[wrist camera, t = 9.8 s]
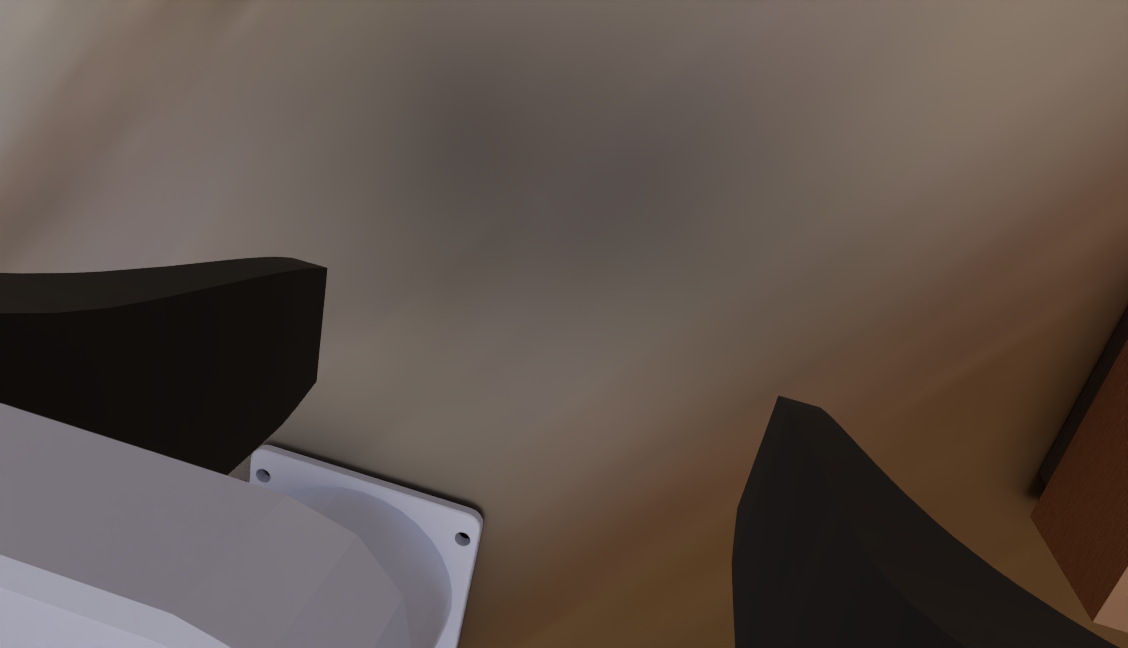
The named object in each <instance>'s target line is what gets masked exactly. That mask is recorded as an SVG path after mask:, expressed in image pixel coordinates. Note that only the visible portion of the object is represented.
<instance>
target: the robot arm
mask: <svg viewBox="0 0 1128 648" xmlns="http://www.w3.org/2000/svg"><path fill="white" fill-rule="evenodd" d="M326 277H327V268H326V267H322V266H319V265H315V264H312V263H308V262H305V261H301V260H298V259H294V258H287V257H259V258H245V259H234V260H224V261H214V262H205V263H195V264H186V265H176V266H166V267H154V268H141V269H129V270H116V271H104V272H85V273H24V274H21V273H0V648H457V647H458V642H459V637H460V633H461V628H462V623H463V618H464V614H465V609H466V604H467V599H468V595H469V590H470V585H471V580H472V575H473V571H474V566H475V561H476V556H477V552H478V547H479V542H480V537H481V533H482V528H483V519H482V517H481V515H480V514H479V513H478V512H477V511H476V510H474V509H472V508H469V507H466V506H463V505H460V504H456V503H453V502H450V501H447V500H444V499H441V498H437V497H434V496H431V495H428V494H425V493H421V492H418V491H415V490H412V489H409V488H405V487H402V486H399V485H396V484H393V483H389V482H386V481H383V480H380V479H377V478H373V477H370V476H367V475H364V474H361V473H358V472H354V471H351V470H348V469H345V468H342V467H338V466H335V465H332V464H329V463H326V462H322V461H319V460H316V459H313V458H310V457H306V456H303V455H300V454H297V453H294V452H291V451H287V450H284V449H281V448H278V447H275V446H271V445H262V446H260V445H261V444H262V443H263V442H264V441H265V440H266V439H267V438H268V437H269V436H271V435H272V434H273V433H274V432H275V431H276V430H277V429H278V428H279V427H280V426H281V425H282V424H283V423H284V422H285V420H286V419H287V418H288V417H289V416H290V414H291V413H292V412H293V411H294V410H295V408H296V407H297V406H298V405H299V404H300V402H301V401H302V400H303V398H304V397H305V396H306V394H307V393H308V392H309V390H310V389H311V388H312V386H313V385H314V384H315V383H316V380H317V370H318V360H319V349H320V339H321V329H322V318H323V308H324V298H325V287H326ZM259 446H260V447H259ZM258 447H259V448H258ZM257 448H258V449H257ZM255 449H257V450H256V451H255V452H254V453H252V452H253V451H254V450H255ZM251 453H252V456H251V466H250V482H249V483H248V482H245V481H242V480H239V479H236V478H233V477H230V476H227V475H228V474H229V473H230V472H231V471H232V470H233V469H235V468H236V467H237V466H238V465H239V464H240V463H241V462H242V461H243V460H245V459H246V458H247V457H248V456H249V455H250V454H251ZM263 469H264V470H266V471H268V473H269V474H270V476H268V475H266V474H265V473H264V471H263ZM459 532H463V533H465V534H467V535H468V536H469V537H470V539H466V538H463V537H462V536H461V535H460V534H459ZM732 585H733V609H734V630H735V648H1119V647H1117V646H1115V645H1113V644H1112V643H1110V642H1108V641H1106V640H1104V639H1103V638H1101V637H1099V636H1098V635H1096V634H1094V633H1093V632H1091V631H1089V630H1088V629H1086V628H1084V627H1083V626H1081V625H1079V624H1078V623H1076V622H1074V621H1072V620H1071V619H1069V618H1068V617H1066V616H1064V615H1063V614H1061V613H1060V612H1058V611H1057V610H1055V609H1054V608H1052V607H1051V606H1049V605H1047V604H1046V603H1044V602H1043V601H1041V600H1040V599H1038V598H1037V597H1035V596H1034V595H1032V594H1031V593H1029V592H1028V591H1026V590H1025V589H1023V588H1022V587H1020V586H1019V585H1017V584H1016V583H1014V582H1013V581H1011V580H1010V579H1009V578H1007V577H1006V576H1004V575H1003V574H1001V573H1000V572H999V571H997V570H996V569H994V568H993V567H992V566H990V565H989V564H988V563H987V562H985V561H984V560H983V559H981V558H980V557H979V556H978V555H976V554H975V553H974V552H972V551H971V550H970V549H969V548H967V547H966V546H965V545H963V544H962V543H961V542H960V541H958V540H957V539H956V538H954V537H953V536H952V535H951V534H950V533H948V532H947V531H946V530H945V529H944V528H943V527H941V526H940V525H939V524H938V523H937V522H936V521H934V520H933V519H932V518H931V517H930V516H929V515H928V514H927V513H926V512H925V511H924V510H922V509H921V508H920V507H919V506H918V505H917V504H916V503H915V502H914V501H913V500H912V499H910V498H909V497H908V496H907V495H906V494H905V493H904V492H903V491H902V490H901V489H900V488H899V487H898V486H897V485H896V484H895V483H894V482H893V481H892V480H891V479H890V478H889V477H888V476H887V475H886V474H885V473H884V472H883V471H882V470H881V469H880V468H879V467H878V466H877V465H876V464H875V463H874V462H873V460H872V459H871V458H870V457H869V456H868V455H867V454H866V453H865V452H864V451H863V450H862V449H861V448H860V447H859V446H858V445H857V443H856V442H855V441H854V440H853V439H852V438H851V437H850V436H849V435H848V434H847V433H846V432H845V431H844V430H843V428H842V427H841V426H840V425H839V424H838V423H837V422H836V421H835V420H834V419H833V418H832V417H831V416H830V415H829V414H828V413H826V412H825V411H824V410H823V409H821V408H820V407H817V406H813V405H810V404H806V403H803V402H799V401H795V400H792V399H788V398H785V397H781V396H778V399H777V401H776V404H775V407H774V409H773V412H772V415H771V418H770V420H769V423H768V426H767V429H766V431H765V434H764V437H763V440H762V442H761V445H760V448H759V450H758V453H757V456H756V459H755V461H754V464H753V467H752V470H751V472H750V475H749V478H748V481H747V483H746V486H745V489H744V492H743V494H742V497H741V500H740V502H739V505H738V508H737V516H736V525H735V534H734V544H733V555H732Z"/></svg>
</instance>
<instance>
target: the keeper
mask: <svg viewBox="0 0 1128 648" xmlns="http://www.w3.org/2000/svg"><path fill="white" fill-rule="evenodd" d="M1127 339H1128V308H1127V310H1126V312H1125V314H1124V316H1123V318H1122V319H1121V321H1120V323H1119V325H1118V327H1117V329H1116V330H1115V332H1114V334H1113V336H1112V338H1111V340H1110V342H1109V343H1108V345H1107V347H1106V349H1105V351H1104V353H1103V355H1102V356H1101V358H1100V360H1099V362H1098V364H1097V366H1096V367H1095V369H1094V371H1093V373H1092V375H1091V377H1090V379H1089V380H1088V382H1087V384H1086V386H1085V388H1084V390H1083V392H1082V393H1081V395H1080V397H1079V399H1078V401H1077V403H1076V404H1075V406H1074V408H1073V410H1072V412H1071V414H1070V416H1069V417H1068V419H1067V421H1066V423H1065V425H1064V427H1063V429H1062V430H1061V432H1060V434H1059V436H1058V438H1057V440H1056V441H1055V443H1054V445H1053V447H1052V449H1051V451H1050V453H1049V454H1048V456H1047V458H1046V460H1045V462H1044V464H1043V465H1042V467H1041V469H1040V471H1039V475H1040V476H1041V478H1042V479H1043V481H1044V482H1045V484H1046V485H1047V484H1048V483H1049V481H1050V479H1051V477H1052V475H1053V473H1054V472H1055V470H1056V468H1057V466H1058V464H1059V463H1060V461H1061V459H1062V457H1063V455H1064V453H1065V452H1066V450H1067V448H1068V446H1069V444H1070V443H1071V441H1072V439H1073V437H1074V435H1075V433H1076V432H1077V430H1078V428H1079V426H1080V424H1081V423H1082V421H1083V419H1084V417H1085V415H1086V413H1087V412H1088V410H1089V408H1090V406H1091V404H1092V403H1093V401H1094V399H1095V397H1096V395H1097V393H1098V392H1099V390H1100V388H1101V386H1102V384H1103V383H1104V381H1105V379H1106V377H1107V375H1108V373H1109V372H1110V370H1111V368H1112V366H1113V364H1114V363H1115V361H1116V359H1117V357H1118V355H1119V353H1120V352H1121V350H1122V348H1123V346H1124V344H1125V343H1126V341H1127Z"/></svg>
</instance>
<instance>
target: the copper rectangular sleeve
mask: <svg viewBox="0 0 1128 648" xmlns="http://www.w3.org/2000/svg"><path fill="white" fill-rule="evenodd" d="M1030 517H1031V519H1032V520H1033V522H1034V524H1035V526H1036V527H1037V529H1038V531H1039V532H1040V534H1041V536H1042V537H1043V539H1044V541H1045V542H1046V544H1047V546H1048V547H1049V549H1050V551H1051V552H1052V554H1053V556H1054V558H1055V559H1056V561H1057V563H1058V564H1059V566H1060V568H1061V569H1062V571H1063V573H1064V574H1065V576H1066V578H1067V579H1068V581H1069V583H1070V584H1071V586H1072V588H1073V590H1074V591H1075V593H1076V595H1077V596H1078V598H1079V600H1080V601H1081V603H1082V605H1083V606H1084V608H1085V610H1086V611H1087V613H1088V615H1089V616H1090V618H1091V620H1092V621H1093V622H1095V623H1098V624H1101V625H1105V626H1108V627H1111V628H1114V629H1118V630H1121V631H1124V632H1128V339H1127V341H1126V343H1125V344H1124V346H1123V348H1122V350H1121V352H1120V353H1119V355H1118V357H1117V359H1116V361H1115V363H1114V364H1113V366H1112V368H1111V370H1110V372H1109V373H1108V375H1107V377H1106V379H1105V381H1104V383H1103V384H1102V386H1101V388H1100V390H1099V392H1098V393H1097V395H1096V397H1095V399H1094V401H1093V403H1092V404H1091V406H1090V408H1089V410H1088V412H1087V413H1086V415H1085V417H1084V419H1083V421H1082V423H1081V424H1080V426H1079V428H1078V430H1077V432H1076V433H1075V435H1074V437H1073V439H1072V441H1071V443H1070V444H1069V446H1068V448H1067V450H1066V452H1065V453H1064V455H1063V457H1062V459H1061V461H1060V463H1059V464H1058V466H1057V468H1056V470H1055V472H1054V473H1053V475H1052V477H1051V479H1050V481H1049V483H1048V484H1047V486H1046V488H1045V490H1044V492H1043V493H1042V495H1041V497H1040V499H1039V501H1038V503H1037V504H1036V506H1035V508H1034V510H1033V512H1032V513H1031V515H1030Z"/></svg>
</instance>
